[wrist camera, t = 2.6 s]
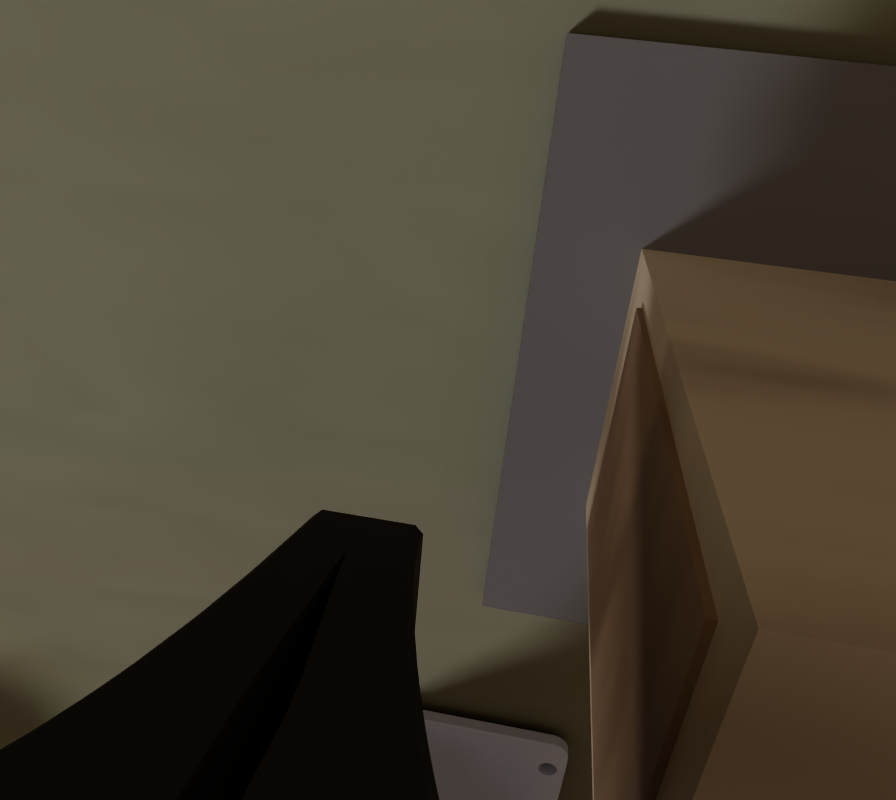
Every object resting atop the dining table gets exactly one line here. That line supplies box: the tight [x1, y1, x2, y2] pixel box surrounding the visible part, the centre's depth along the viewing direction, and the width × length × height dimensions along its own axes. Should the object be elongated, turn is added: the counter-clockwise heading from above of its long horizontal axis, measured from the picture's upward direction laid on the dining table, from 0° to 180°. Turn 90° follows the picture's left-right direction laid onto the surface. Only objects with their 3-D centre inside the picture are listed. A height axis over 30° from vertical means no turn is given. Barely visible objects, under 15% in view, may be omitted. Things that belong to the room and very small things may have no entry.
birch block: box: [586, 249, 896, 800], centre depth 11 cm, size 6×6×10 cm
